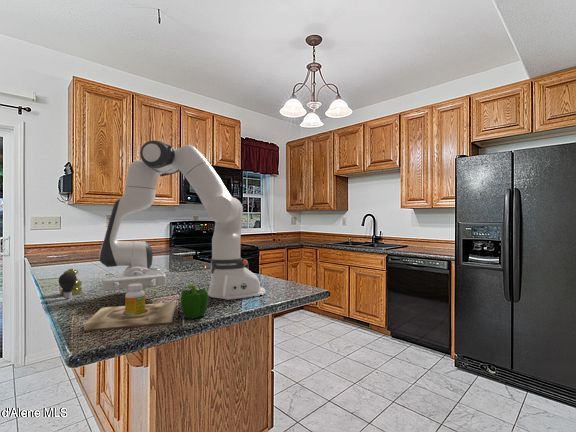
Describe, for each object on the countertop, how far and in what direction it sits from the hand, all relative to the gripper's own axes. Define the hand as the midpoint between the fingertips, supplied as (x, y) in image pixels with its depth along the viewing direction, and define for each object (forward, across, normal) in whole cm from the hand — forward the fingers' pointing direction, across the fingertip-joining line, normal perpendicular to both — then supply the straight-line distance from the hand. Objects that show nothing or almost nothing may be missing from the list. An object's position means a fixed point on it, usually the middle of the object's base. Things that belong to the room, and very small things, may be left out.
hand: (135, 285), depth 106 cm
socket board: (+12, 0, +8) cm, 14 cm away
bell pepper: (+18, +16, +8) cm, 25 cm away
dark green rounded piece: (-35, -23, +8) cm, 43 cm away
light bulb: (-26, -23, +8) cm, 35 cm away
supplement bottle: (+12, 0, +7) cm, 14 cm away
